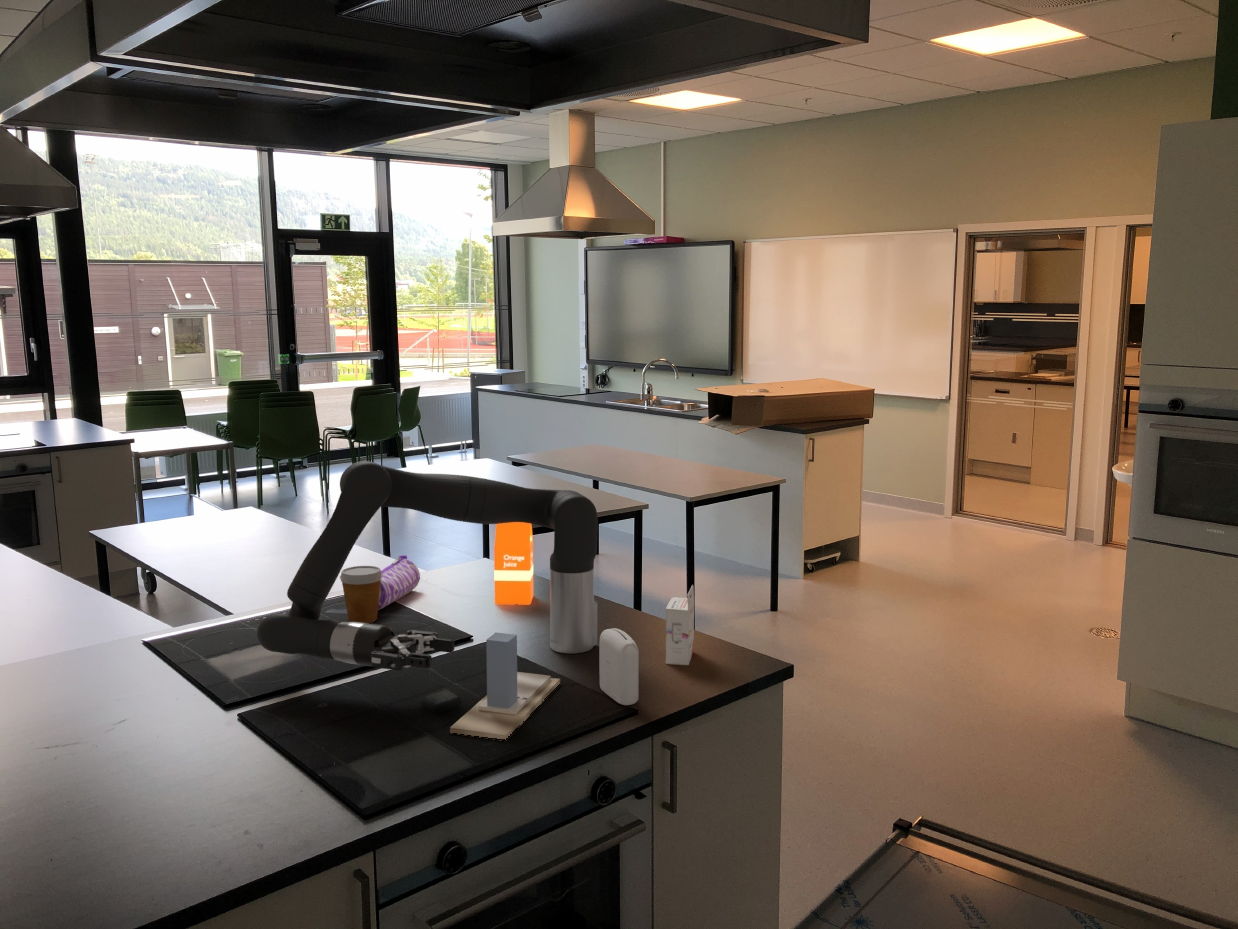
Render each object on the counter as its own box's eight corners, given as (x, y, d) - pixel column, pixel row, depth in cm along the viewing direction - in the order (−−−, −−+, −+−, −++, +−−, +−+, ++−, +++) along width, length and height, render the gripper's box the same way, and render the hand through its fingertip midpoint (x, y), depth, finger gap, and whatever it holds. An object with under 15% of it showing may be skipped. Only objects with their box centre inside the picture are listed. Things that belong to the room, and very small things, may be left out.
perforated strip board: (511, 678, 181) (511, 668, 180) (560, 684, 178) (560, 674, 177) (450, 733, 156) (450, 722, 156) (505, 741, 153) (505, 730, 153)
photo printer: (596, 688, 176) (596, 624, 174) (616, 684, 178) (617, 621, 176) (620, 708, 167) (620, 641, 165) (641, 704, 169) (642, 638, 167)
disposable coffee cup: (392, 619, 217) (391, 568, 215) (361, 630, 209) (359, 578, 207) (364, 612, 222) (362, 563, 220) (332, 622, 214) (330, 571, 212)
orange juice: (530, 604, 228) (529, 524, 226) (494, 604, 229) (493, 524, 226) (533, 595, 236) (533, 518, 233) (498, 595, 236) (498, 517, 233)
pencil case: (389, 588, 243) (388, 552, 241) (423, 590, 241) (422, 554, 240) (351, 613, 221) (350, 574, 220) (389, 615, 220) (387, 576, 218)
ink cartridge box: (670, 650, 197) (671, 582, 195) (694, 652, 196) (695, 583, 194) (664, 664, 189) (665, 593, 186) (688, 666, 188) (690, 595, 185)
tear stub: (490, 699, 167) (489, 630, 166) (526, 703, 165) (525, 634, 164) (478, 709, 163) (477, 639, 161) (515, 714, 161) (514, 643, 159)
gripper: (339, 635, 163) (423, 646, 159) (382, 613, 177) (460, 622, 172) (340, 676, 164) (423, 688, 160) (383, 651, 178) (460, 661, 173)
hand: (442, 654), depth 166 cm, fingers open, 8 cm apart
